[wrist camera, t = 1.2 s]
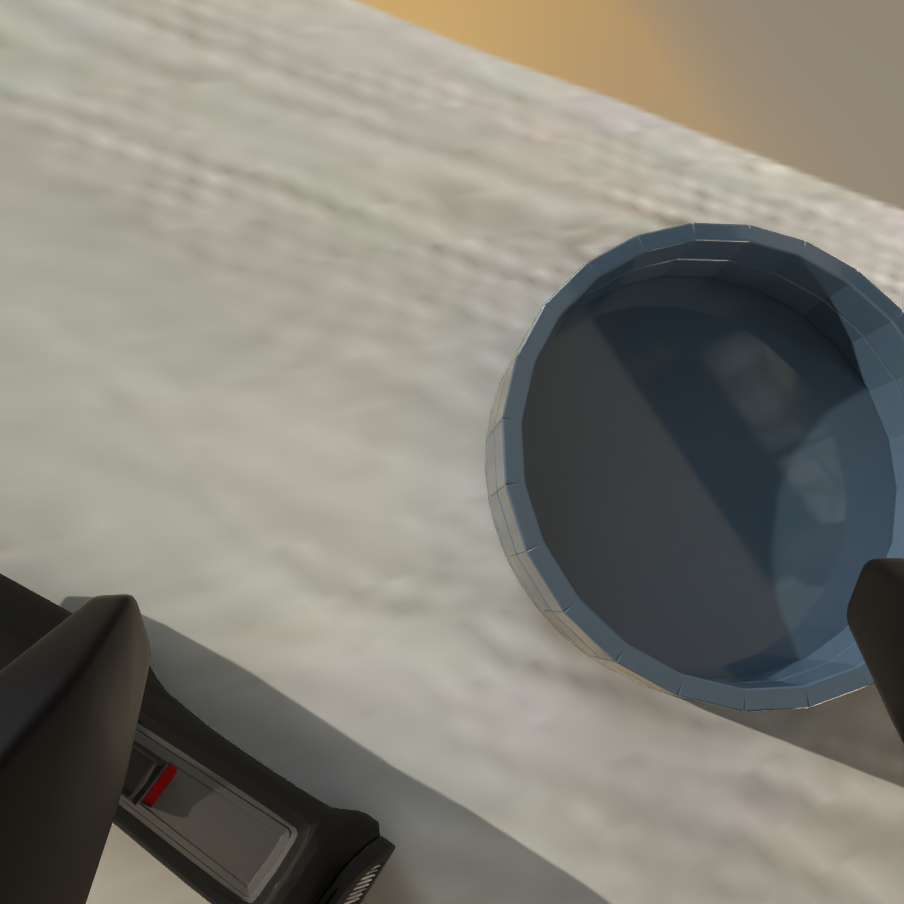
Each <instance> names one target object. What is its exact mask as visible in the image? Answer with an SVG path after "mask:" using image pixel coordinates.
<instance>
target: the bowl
mask: <svg viewBox="0 0 904 904" xmlns="http://www.w3.org/2000/svg"><path fill="white" fill-rule="evenodd" d="M486 479H487V489H488V498H489V503H490V507H491V511H492V516H493V520H494V524H495V528H496V531H497V534H498V536H499V539H500V541H501V544H502V547H503V549H504V552H505V555H506V557H507V559H508V561H509V563H510V565H511V567H512V568H513V570H514V572H515V574H516V576H517V578H518V580H519V582H520V583H521V585H522V586H523V588H524V589H525V591H526V592H527V594H528V595H529V596H530V598H531V599H532V601H533V602H534V603H535V605H536V606H537V608H538V609H539V610H540V611H541V612H542V614H543V615H544V616H545V617H546V618H547V619H548V620H549V621H550V622H551V623H552V624H553V626H554V627H555V628H556V629H557V630H558V631H559V632H560V633H561V634H562V635H563V636H565V637H566V638H567V639H568V640H569V641H571V642H572V643H573V644H574V645H575V646H576V647H578V648H579V649H580V650H581V651H582V652H584V653H585V654H587V655H588V656H590V657H591V658H593V659H595V660H596V661H598V662H599V663H601V664H602V665H604V666H605V667H607V668H609V669H610V670H613V671H615V672H617V673H619V674H621V675H623V676H625V677H628V678H629V679H631V680H633V681H635V682H637V683H638V684H640V685H643V686H645V687H649V688H652V689H655V690H658V691H662V692H665V693H668V694H671V695H675V696H678V697H682V698H686V699H690V700H694V701H698V702H703V703H707V704H711V705H715V706H719V707H724V708H728V709H732V710H736V711H744V712H756V711H774V710H792V709H807V708H812V707H814V706H817V705H820V704H822V703H825V702H828V701H830V700H833V699H836V698H838V697H841V696H844V695H846V694H849V693H852V692H855V691H857V690H860V689H863V688H865V687H867V686H869V685H871V684H872V683H874V681H873V678H872V676H871V674H870V672H869V670H868V667H867V665H866V663H865V661H864V659H863V657H862V654H861V652H860V650H859V648H858V646H857V643H856V641H855V639H854V637H853V635H852V632H851V630H850V628H849V625H848V621H847V607H848V604H849V601H850V598H851V596H852V593H853V591H854V588H855V585H856V583H857V580H858V578H859V575H860V572H861V570H862V568H863V566H864V565H865V564H866V563H867V562H868V561H869V560H872V559H883V558H902V559H904V312H902V310H901V309H900V308H899V307H898V306H897V305H896V304H895V303H893V302H892V301H891V300H890V299H889V298H888V297H887V296H886V295H885V294H883V293H882V292H881V291H880V290H879V289H878V288H877V287H876V286H875V285H873V284H872V283H871V282H870V281H869V280H868V279H867V278H866V277H864V276H863V275H862V274H861V273H860V272H857V270H856V269H854V268H853V267H851V266H849V265H847V264H845V263H844V262H842V261H840V260H838V259H837V258H835V257H833V256H831V255H829V254H828V253H826V252H824V251H822V250H820V249H819V248H817V247H815V246H813V245H812V244H810V243H808V242H804V241H803V240H799V239H796V238H793V237H789V236H786V235H782V234H779V233H775V232H772V231H768V230H765V229H761V228H758V227H754V226H748V225H736V224H709V223H692V224H691V223H689V224H685V225H680V226H676V227H671V228H667V229H663V230H658V231H654V232H649V233H645V234H641V235H637V236H634V237H632V238H630V239H628V240H627V241H625V242H623V243H621V244H619V245H617V246H616V247H614V248H612V249H610V250H608V251H606V252H605V253H603V254H601V255H599V256H597V257H595V258H594V259H592V260H590V261H588V262H587V263H586V264H584V265H583V266H582V267H581V268H580V269H579V270H578V271H577V272H576V273H575V274H574V275H573V276H572V277H571V278H570V279H569V280H568V281H567V282H566V283H565V284H564V285H563V286H562V287H561V288H560V289H559V290H558V291H557V292H556V293H555V294H554V295H553V296H552V297H551V298H550V299H549V300H548V301H547V302H546V303H545V305H544V306H543V307H542V309H541V310H540V312H539V314H538V315H537V317H536V319H535V320H534V322H533V323H532V325H531V327H530V328H529V330H528V332H527V333H526V335H525V337H524V338H523V340H522V342H521V344H520V346H519V348H518V349H517V351H516V353H515V355H514V357H513V358H512V360H511V362H510V364H509V366H508V368H507V370H506V371H505V373H504V375H503V377H502V379H501V382H500V383H499V387H498V391H497V394H496V397H495V401H494V404H493V407H492V411H491V414H490V421H489V427H488V433H487V440H486Z"/></svg>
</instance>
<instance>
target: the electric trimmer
mask: <svg viewBox="0 0 904 904" xmlns="http://www.w3.org/2000/svg"><path fill="white" fill-rule="evenodd" d="M71 615H72V613H71V612H69V611H67V610H65V609H63V608H62V607H60V606H58V605H56V604H54V603H53V602H51V601H49V600H47V599H45V598H43V597H42V596H40V595H38V594H36V593H34V592H33V591H31V590H29V589H27V588H25V587H24V586H22V585H20V584H18V583H16V582H15V581H13V580H11V579H9V578H7V577H5V576H4V575H2V574H0V671H1V670H2V669H3V668H5V667H6V666H7V665H9V664H10V663H11V662H12V661H14V660H15V659H16V658H17V657H19V656H20V655H21V654H22V653H24V652H25V651H26V650H28V649H29V648H30V647H31V646H33V645H34V644H35V643H36V642H38V641H39V640H40V639H41V638H43V637H44V636H45V635H47V634H48V633H49V632H50V631H52V630H53V629H54V628H55V627H57V626H58V625H59V624H61V623H62V622H63V621H64V620H66V619H67V618H68V617H69V616H71ZM113 823H114V824H115V825H116V826H118V827H119V828H120V829H121V830H122V831H124V832H125V833H126V834H127V835H128V836H130V837H131V838H132V839H133V840H134V841H136V842H137V843H138V844H139V845H140V846H142V847H143V848H144V849H145V850H146V851H148V852H149V853H150V854H151V855H152V856H154V857H155V858H156V859H157V860H158V861H160V862H161V863H162V864H163V865H164V866H165V867H167V868H168V869H169V870H170V871H171V872H173V873H174V874H175V875H176V876H177V877H179V878H180V879H181V880H182V881H183V882H185V883H186V884H187V885H188V886H190V887H191V888H192V889H193V890H195V891H196V892H197V893H199V894H200V895H201V896H202V897H204V898H205V899H206V900H207V901H209V902H210V903H211V904H360V903H361V902H362V900H363V898H364V897H365V895H366V894H367V892H368V890H369V889H370V887H371V886H372V884H373V883H374V881H375V879H376V878H377V876H378V875H379V873H380V871H381V870H382V868H383V867H384V865H385V864H386V862H387V860H388V859H389V857H390V856H391V854H392V852H393V850H394V849H395V845H393V844H392V843H391V842H389V841H388V840H387V839H385V838H384V837H382V836H381V837H380V833H379V823H378V821H376V820H375V819H373V818H372V817H371V816H369V815H368V814H366V813H363V812H360V811H355V810H345V809H338V808H332V807H330V806H328V805H326V804H324V803H322V802H320V801H319V800H317V799H316V798H314V797H313V796H311V795H309V794H308V793H306V792H305V791H303V790H302V789H300V788H298V787H297V786H295V785H294V784H292V783H291V782H289V781H287V780H286V779H284V778H283V777H281V776H280V775H278V774H276V773H275V772H273V771H272V770H270V769H269V768H267V767H266V766H264V765H263V764H261V763H260V762H258V761H257V760H256V759H254V758H253V757H251V756H250V755H248V754H247V753H245V752H244V751H242V750H241V749H240V748H238V747H237V746H235V745H234V744H232V743H231V742H229V741H228V740H226V739H225V738H224V737H222V736H221V735H219V734H218V733H217V732H215V731H214V730H213V729H211V728H210V727H209V726H207V725H206V724H205V723H204V722H203V721H201V720H200V719H199V718H198V717H196V716H195V715H194V714H193V713H192V712H190V711H189V710H188V709H187V708H185V707H184V706H183V705H182V704H181V703H179V702H178V701H177V700H176V699H174V698H173V697H172V696H171V695H170V694H168V693H167V692H166V690H165V689H164V687H163V686H162V685H161V683H160V682H159V681H158V679H157V678H156V676H155V674H154V673H153V671H152V669H151V667H150V665H149V670H148V674H147V679H146V684H145V689H144V693H143V698H142V703H141V708H140V713H139V717H138V722H137V727H136V732H135V736H134V741H133V746H132V751H131V756H130V760H129V765H128V770H127V774H126V778H125V782H124V787H123V790H122V793H121V797H120V800H119V803H118V807H117V810H116V813H115V816H114V819H113Z"/></svg>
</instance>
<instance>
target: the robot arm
mask: <svg viewBox="0 0 904 904" xmlns="http://www.w3.org/2000/svg"><path fill="white" fill-rule="evenodd" d="M847 621H848V625H849V628H850V630H851V632H852V635H853V637H854V639H855V641H856V643H857V646H858V648H859V650H860V652H861V654H862V657H863V659H864V661H865V663H866V665H867V667H868V670H869V672H870V674H871V676H872V678H873V681H874V683H875V685H876V687H877V689H878V692H879V694H880V696H881V698H882V700H883V703H884V705H885V707H886V709H887V711H888V714H889V716H890V718H891V720H892V722H893V724H894V726H895V728H896V730H897V732H898V734H899V736H900V738H901V740H902V742H903V744H904V559H902V558H883V559H872V560H869V561H868V562H867V563H866V564H865V565H864V566H863V568H862V570H861V572H860V575H859V578H858V580H857V583H856V585H855V588H854V591H853V593H852V596H851V598H850V601H849V604H848V607H847ZM149 664H150V644H149V640H148V637H147V634H146V630H145V627H144V624H143V620H142V617H141V614H140V610H139V607H138V604H137V602H136V600H135V599H134V597H132V596H131V595H127V594H123V595H102V596H97V597H95V598H93V599H91V600H90V601H88V602H87V603H86V604H85V605H83V606H82V607H81V608H80V609H78V610H77V611H76V612H74V613H73V614H72V615H71V616H69V617H68V618H67V619H66V620H64V621H63V622H62V623H61V624H59V625H58V626H57V627H55V628H54V629H53V630H52V631H50V632H49V633H48V634H47V635H45V636H44V637H43V638H41V639H40V640H39V641H38V642H36V643H35V644H34V645H33V646H31V647H30V648H29V649H28V650H26V651H25V652H24V653H22V654H21V655H20V656H19V657H17V658H16V659H15V660H14V661H12V662H11V663H10V664H9V665H7V666H6V667H5V668H3V669H2V670H1V671H0V904H86V901H87V898H88V895H89V892H90V889H91V886H92V883H93V880H94V877H95V874H96V871H97V868H98V865H99V861H100V858H101V855H102V852H103V849H104V846H105V843H106V840H107V837H108V834H109V831H110V828H111V825H112V822H113V819H114V816H115V813H116V810H117V807H118V803H119V800H120V797H121V793H122V790H123V787H124V782H125V778H126V774H127V770H128V765H129V760H130V756H131V751H132V746H133V741H134V736H135V732H136V727H137V722H138V717H139V713H140V708H141V703H142V698H143V693H144V689H145V684H146V679H147V674H148V670H149Z"/></svg>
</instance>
